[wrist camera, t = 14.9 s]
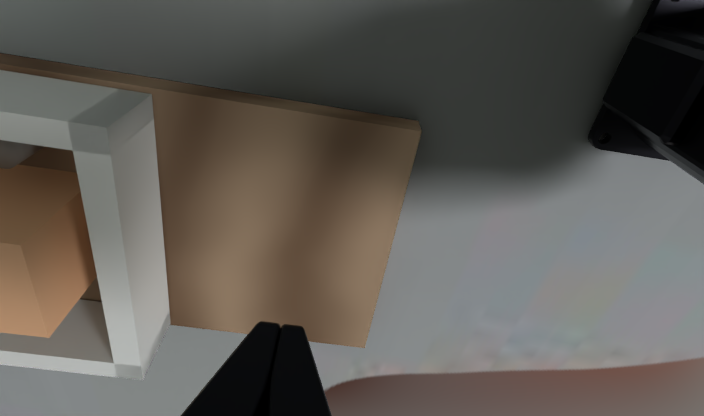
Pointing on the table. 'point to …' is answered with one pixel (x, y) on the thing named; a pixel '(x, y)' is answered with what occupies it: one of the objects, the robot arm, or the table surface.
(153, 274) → the frame
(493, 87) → the table surface
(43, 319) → the block
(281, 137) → the seat plate
